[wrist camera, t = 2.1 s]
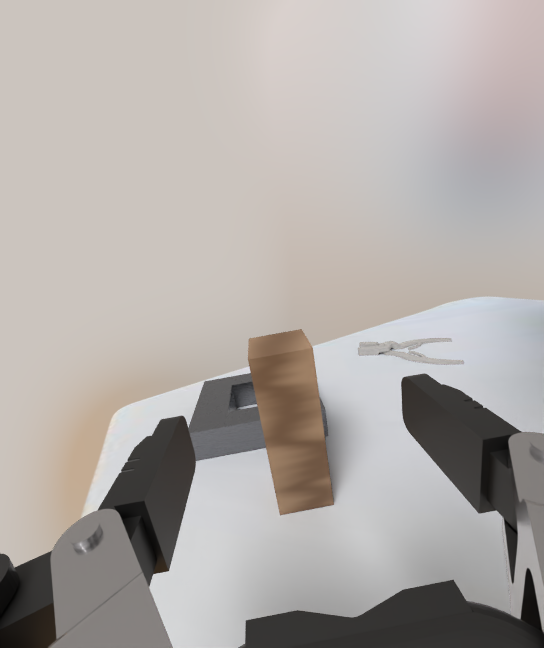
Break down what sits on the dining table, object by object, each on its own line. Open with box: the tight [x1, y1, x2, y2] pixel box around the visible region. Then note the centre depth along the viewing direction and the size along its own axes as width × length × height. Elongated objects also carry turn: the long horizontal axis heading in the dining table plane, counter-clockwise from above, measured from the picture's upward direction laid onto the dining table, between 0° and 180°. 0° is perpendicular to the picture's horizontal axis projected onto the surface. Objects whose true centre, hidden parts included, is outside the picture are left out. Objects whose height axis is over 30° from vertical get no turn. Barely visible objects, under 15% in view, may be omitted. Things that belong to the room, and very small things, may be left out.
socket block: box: [188, 373, 328, 461], centre depth 36 cm, size 15×12×4 cm
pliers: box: [358, 338, 464, 365], centre depth 48 cm, size 10×2×15 cm
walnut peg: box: [248, 329, 334, 515], centre depth 23 cm, size 4×4×14 cm
